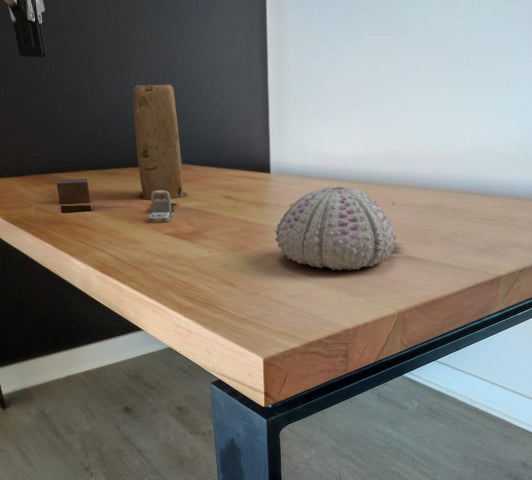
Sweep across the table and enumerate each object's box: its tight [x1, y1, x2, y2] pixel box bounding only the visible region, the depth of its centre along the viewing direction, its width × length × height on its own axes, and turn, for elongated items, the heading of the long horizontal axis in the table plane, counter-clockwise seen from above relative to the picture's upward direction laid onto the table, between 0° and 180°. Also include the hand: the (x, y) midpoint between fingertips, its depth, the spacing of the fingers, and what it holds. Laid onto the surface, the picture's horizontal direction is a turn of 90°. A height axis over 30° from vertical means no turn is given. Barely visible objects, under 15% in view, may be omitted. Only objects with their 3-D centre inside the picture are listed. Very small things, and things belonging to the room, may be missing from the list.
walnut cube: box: [56, 178, 93, 214], centre depth 95 cm, size 5×5×5 cm
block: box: [132, 83, 184, 206], centre depth 98 cm, size 11×8×20 cm
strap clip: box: [148, 190, 175, 223], centre depth 87 cm, size 8×3×4 cm, turn 1°
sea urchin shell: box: [274, 186, 397, 271], centre depth 60 cm, size 13×14×8 cm
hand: (33, 56), depth 76 cm, fingers closed
